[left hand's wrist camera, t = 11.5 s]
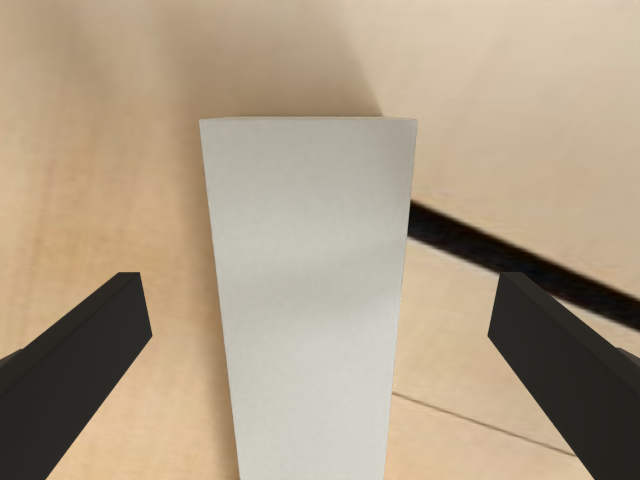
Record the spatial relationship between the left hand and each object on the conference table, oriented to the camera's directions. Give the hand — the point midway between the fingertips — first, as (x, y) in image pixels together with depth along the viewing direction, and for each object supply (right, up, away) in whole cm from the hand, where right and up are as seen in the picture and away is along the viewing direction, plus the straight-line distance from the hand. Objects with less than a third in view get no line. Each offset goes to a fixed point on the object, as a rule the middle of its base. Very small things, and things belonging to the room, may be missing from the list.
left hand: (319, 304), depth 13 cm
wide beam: (-1, -29, +23) cm, 37 cm away
